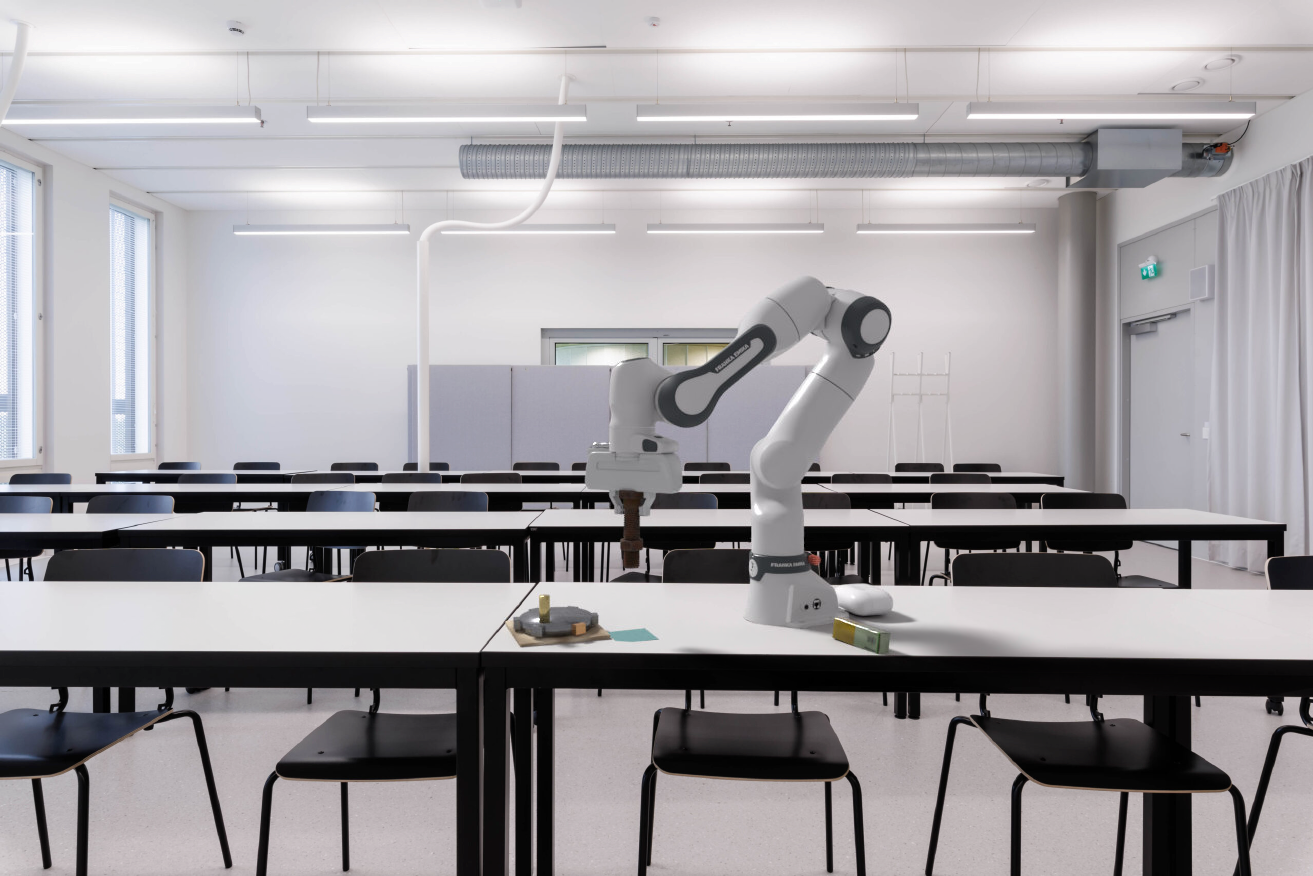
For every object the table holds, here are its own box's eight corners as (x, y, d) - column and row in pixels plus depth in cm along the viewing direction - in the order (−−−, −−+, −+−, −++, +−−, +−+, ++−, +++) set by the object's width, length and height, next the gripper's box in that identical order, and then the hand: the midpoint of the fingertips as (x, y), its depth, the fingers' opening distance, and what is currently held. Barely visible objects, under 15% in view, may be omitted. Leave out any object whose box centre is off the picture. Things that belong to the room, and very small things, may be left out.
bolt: (644, 570, 138) (645, 491, 138) (617, 570, 138) (618, 490, 137) (644, 564, 144) (645, 488, 143) (618, 564, 144) (619, 488, 143)
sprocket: (540, 612, 154) (539, 579, 154) (607, 618, 149) (607, 584, 149) (500, 633, 138) (499, 596, 138) (574, 640, 134) (574, 602, 134)
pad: (644, 629, 146) (644, 628, 146) (658, 640, 139) (658, 639, 138) (606, 633, 143) (606, 632, 143) (618, 645, 136) (618, 643, 136)
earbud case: (867, 603, 169) (867, 579, 169) (899, 617, 156) (899, 592, 156) (827, 605, 166) (827, 582, 166) (856, 620, 154) (856, 594, 154)
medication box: (889, 655, 130) (891, 633, 131) (878, 656, 129) (881, 633, 129) (841, 637, 141) (843, 616, 141) (831, 637, 140) (833, 616, 140)
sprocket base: (586, 618, 155) (586, 613, 155) (610, 640, 139) (610, 635, 139) (505, 626, 149) (505, 621, 149) (520, 649, 133) (520, 644, 133)
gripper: (578, 442, 143) (578, 513, 143) (669, 443, 133) (669, 520, 133) (597, 441, 148) (597, 510, 149) (686, 443, 138) (686, 516, 138)
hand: (632, 515), depth 141 cm, fingers closed on bolt, 4 cm apart
